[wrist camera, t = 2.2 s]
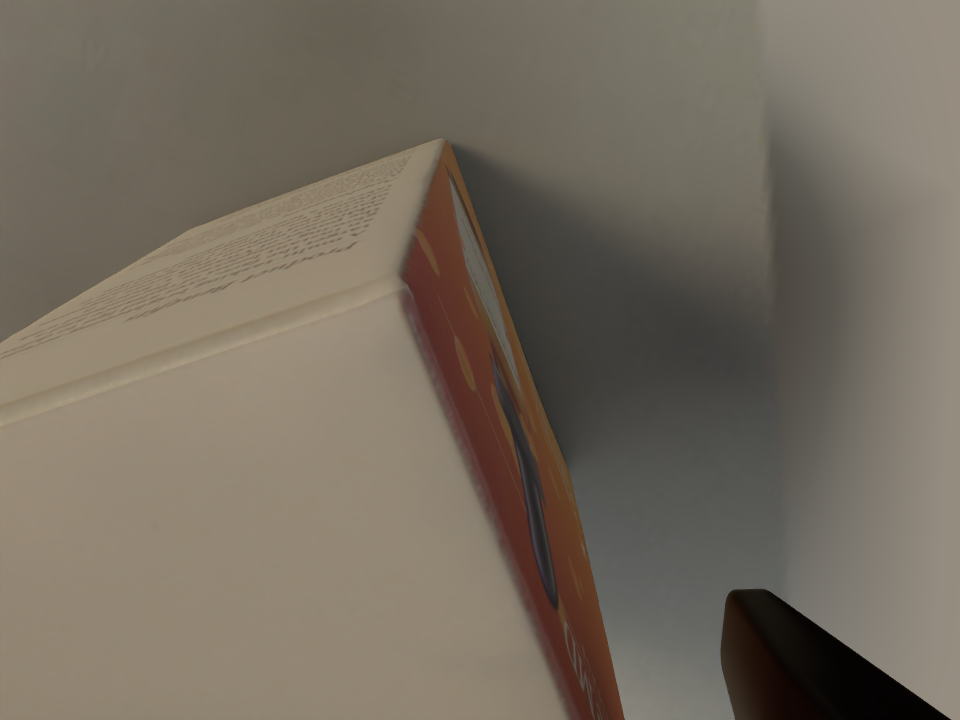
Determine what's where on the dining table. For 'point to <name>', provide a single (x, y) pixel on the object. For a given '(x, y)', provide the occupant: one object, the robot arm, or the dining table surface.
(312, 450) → the small box
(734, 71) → the dining table surface
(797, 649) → the robot arm
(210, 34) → the dining table surface
